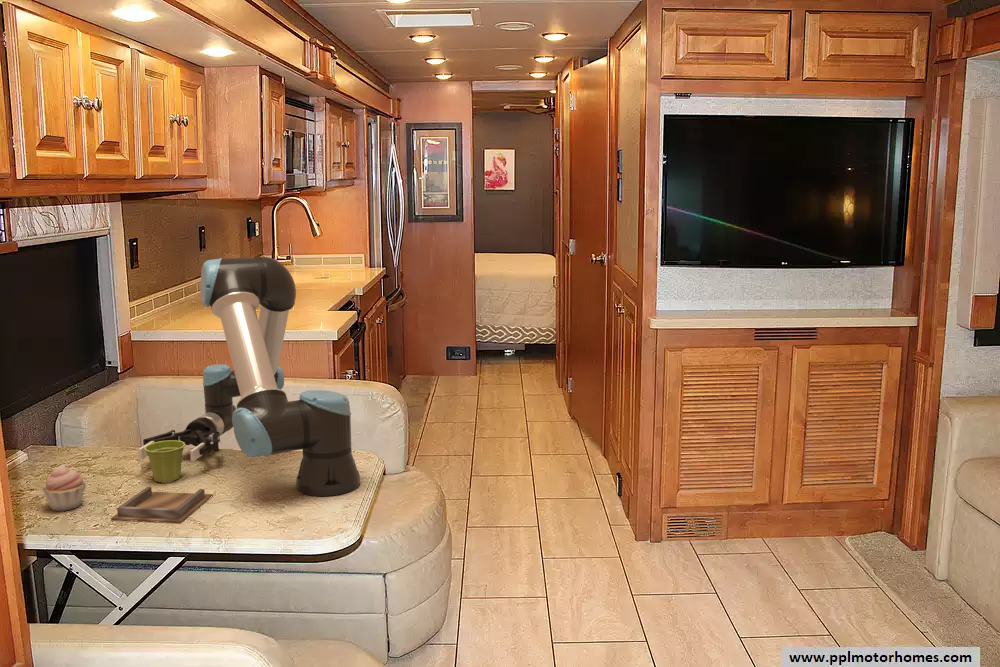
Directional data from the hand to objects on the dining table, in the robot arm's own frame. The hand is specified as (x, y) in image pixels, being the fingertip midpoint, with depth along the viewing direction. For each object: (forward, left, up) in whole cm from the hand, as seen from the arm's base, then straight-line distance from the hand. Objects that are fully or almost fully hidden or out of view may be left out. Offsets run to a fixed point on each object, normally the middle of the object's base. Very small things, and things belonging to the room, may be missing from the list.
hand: (165, 455), depth 213 cm
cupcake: (+6, +24, -6) cm, 25 cm away
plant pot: (-1, +1, -6) cm, 6 cm away
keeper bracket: (-15, +15, -6) cm, 22 cm away
